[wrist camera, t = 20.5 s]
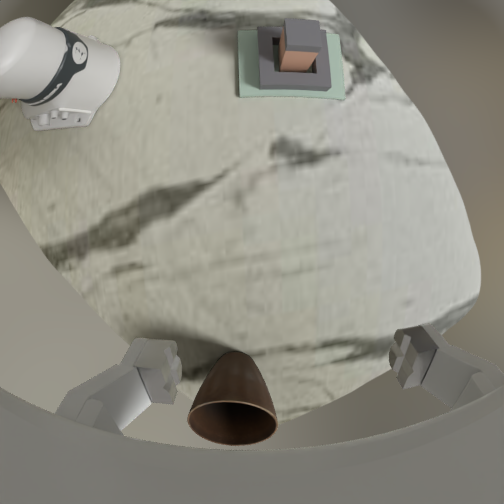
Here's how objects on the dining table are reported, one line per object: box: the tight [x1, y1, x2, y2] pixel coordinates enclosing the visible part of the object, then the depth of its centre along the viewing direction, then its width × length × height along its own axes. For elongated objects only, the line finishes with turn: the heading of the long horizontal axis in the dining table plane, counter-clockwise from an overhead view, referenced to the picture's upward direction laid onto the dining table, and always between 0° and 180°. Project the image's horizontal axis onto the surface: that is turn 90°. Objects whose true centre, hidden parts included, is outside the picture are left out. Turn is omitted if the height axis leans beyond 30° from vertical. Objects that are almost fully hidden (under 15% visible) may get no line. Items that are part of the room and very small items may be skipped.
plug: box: [278, 18, 322, 73], centre depth 28 cm, size 4×4×11 cm
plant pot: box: [187, 352, 278, 446], centre depth 45 cm, size 15×15×16 cm
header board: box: [238, 27, 345, 100], centre depth 32 cm, size 16×12×4 cm
